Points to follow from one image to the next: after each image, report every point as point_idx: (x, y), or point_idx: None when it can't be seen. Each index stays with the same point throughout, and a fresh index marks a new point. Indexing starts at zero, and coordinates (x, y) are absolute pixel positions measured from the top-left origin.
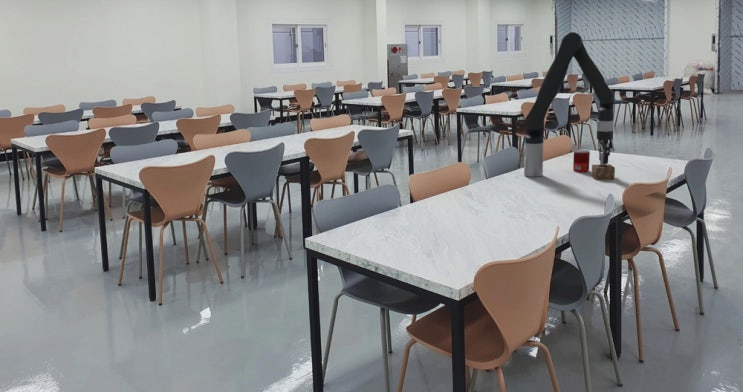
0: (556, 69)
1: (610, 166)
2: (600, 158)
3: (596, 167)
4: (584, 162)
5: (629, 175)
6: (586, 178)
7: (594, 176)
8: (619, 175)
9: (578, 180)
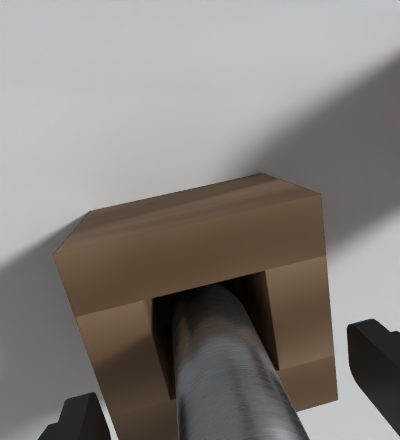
0: None
1: None
2: (228, 388)
3: (96, 259)
4: None
5: (309, 436)
6: (147, 122)
7: (139, 205)
8: None
9: (13, 27)
